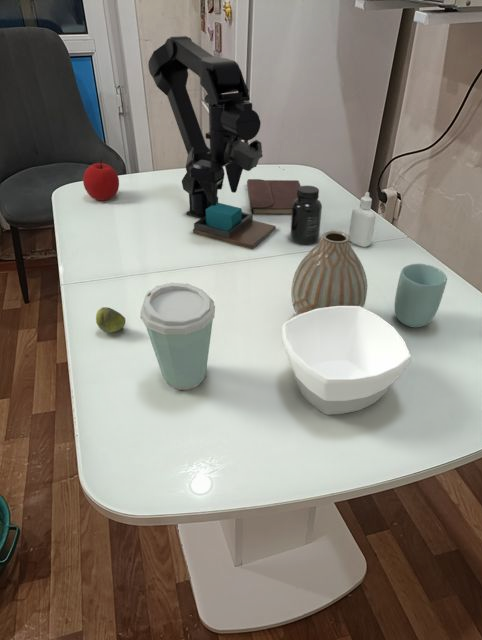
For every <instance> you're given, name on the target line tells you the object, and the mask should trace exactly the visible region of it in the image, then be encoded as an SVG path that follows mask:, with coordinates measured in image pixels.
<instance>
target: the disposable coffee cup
mask: <svg viewBox="0 0 482 640" xmlns="http://www.w3.org/2000/svg"><path fill="white" fill-rule="evenodd" d="M142 302H143V303H142V304H141V309H140V319H141V321H142V322H143V324H144V326H145V328H146V331H147V334H148V337H149V340H150V343H151V345H152V348H153V351H154V355H155V357H156V360H157V363H158V366H159V369H160V371H161V375H162V377H163V379H164V380H165V382H166V383H167V385H168V386H169V387H171V388H173V389H175V390H179V391H180V390H181V391H183V390H184V391H186V390H187V391H189V390H191V389H194V388H197V387H199V386H200V385H201V383H202V382H204V380H205V378H206V375H207V367H208V361H209V360H208V359H209V352H210V346H211V345H210V344H211V337H212V328H213V321H214V319H215V315H216V314H215V313H216V305H215V301H214V299H212V298H211V297H210V296H209V294H207V292H206V291H204V290H203V289H202V288H199V287H197V286H194V285H192V284H189V283H180V282H169V283H168V282H167V283H164V284H160V285H156V286H154V287H153V288H152V289H151V290H149V291H148V292H147V293H146V294H145V296H144V298H143V301H142Z"/></svg>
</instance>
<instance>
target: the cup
mask: <svg viewBox="0 0 482 640" xmlns="http://www.w3.org/2000/svg"><path fill="white" fill-rule="evenodd" d="M447 280H448V276H447V274H446V273H445V272H444V271H443V270H441V268H438V267H436V266H434V265H430V264H426V263H412V264H411V263H410V264H408V265H406V266H404V267H403V268H402V269H401V270H400V273H399V278H398V282H397V286H396V290H395V297H394V303H393V305H394V314H395V317H396V318H397V319H398V321H399V322H400V323H401V324H402V325H404V326H406V327H409V328H421V327H425V326H428V324H430V323H431V322H432V320H433V319H434V318H435V316H436V314H437V312H438V311H439V307H440V305H441V302H442V298H443V295H444V292H445V289H446V286H447Z"/></svg>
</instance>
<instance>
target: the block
mask: <svg viewBox="0 0 482 640" xmlns="http://www.w3.org/2000/svg"><path fill="white" fill-rule="evenodd" d="M242 212H243V208H241V207H238V206H233V205H230V204H226V203H221V202H218V203H216V206H213V205H212V206H210V207H209V208H207V209H206V225H208V226H212V227H215V228H219V229H223V230H227V231H228V230H230V229H231V228H232V227H234V226H235V225H236V224H238V223H239V222H240V221H242Z"/></svg>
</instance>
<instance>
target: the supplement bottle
mask: <svg viewBox="0 0 482 640" xmlns="http://www.w3.org/2000/svg"><path fill="white" fill-rule="evenodd" d="M300 186H301V187H299V188H298V189H297V199H295V200H294V202H293V203H292V214H290V215H291V216H290V235H289V236H290V239H291V240H292V241H293V242H294V243H296V244H300V245H312V244H315V243H317V242H318V241H319V239H320V234H321V233H320V232H321V221H322V209H323V204H322V202H321V200H319V197H320V196H319V195H320V190H319V188H318V187H316V186H314V185H300Z"/></svg>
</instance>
